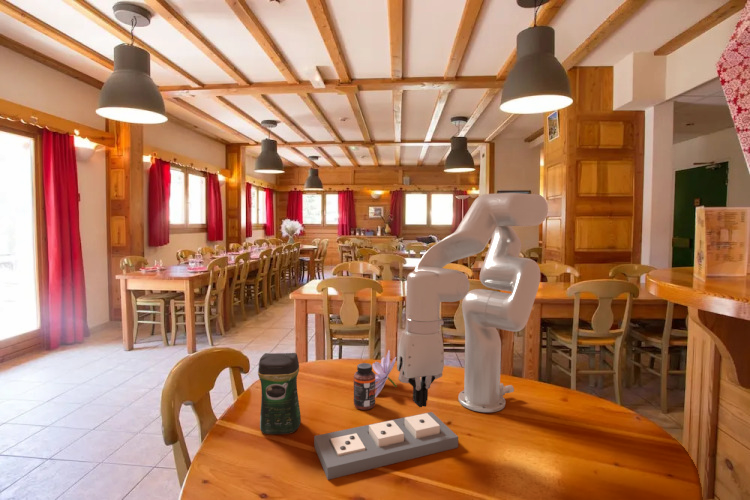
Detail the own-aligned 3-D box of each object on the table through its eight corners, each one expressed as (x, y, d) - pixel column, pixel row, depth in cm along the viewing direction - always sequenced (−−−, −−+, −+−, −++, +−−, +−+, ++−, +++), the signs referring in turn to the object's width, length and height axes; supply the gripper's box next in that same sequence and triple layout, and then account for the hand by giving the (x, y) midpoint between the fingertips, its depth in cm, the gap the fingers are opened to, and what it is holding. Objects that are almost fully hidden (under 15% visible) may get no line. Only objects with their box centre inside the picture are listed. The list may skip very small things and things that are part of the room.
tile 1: (426, 422, 95) (427, 412, 95) (439, 435, 90) (439, 424, 90) (404, 427, 93) (404, 416, 93) (416, 440, 88) (416, 429, 88)
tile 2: (392, 429, 92) (392, 419, 92) (403, 443, 87) (403, 432, 86) (368, 435, 90) (368, 424, 90) (378, 449, 85) (378, 438, 84)
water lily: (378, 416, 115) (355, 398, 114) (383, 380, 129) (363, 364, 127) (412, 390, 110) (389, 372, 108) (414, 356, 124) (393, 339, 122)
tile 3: (356, 443, 89) (356, 432, 89) (365, 458, 84) (365, 446, 83) (330, 448, 87) (330, 437, 87) (338, 464, 81) (338, 453, 81)
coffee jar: (303, 418, 101) (301, 348, 99) (297, 436, 93) (295, 359, 91) (265, 419, 101) (263, 348, 99) (256, 436, 93) (254, 360, 91)
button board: (431, 421, 99) (431, 411, 99) (458, 447, 88) (458, 436, 88) (314, 446, 89) (314, 435, 89) (327, 479, 78) (327, 467, 77)
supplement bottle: (373, 411, 104) (372, 370, 103) (351, 409, 106) (351, 368, 105) (377, 401, 110) (377, 362, 109) (356, 399, 111) (356, 360, 110)
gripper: (442, 319, 95) (440, 393, 97) (385, 324, 90) (383, 402, 91) (459, 327, 88) (456, 406, 90) (399, 333, 83) (397, 417, 84)
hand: (420, 404), depth 90 cm, fingers closed
